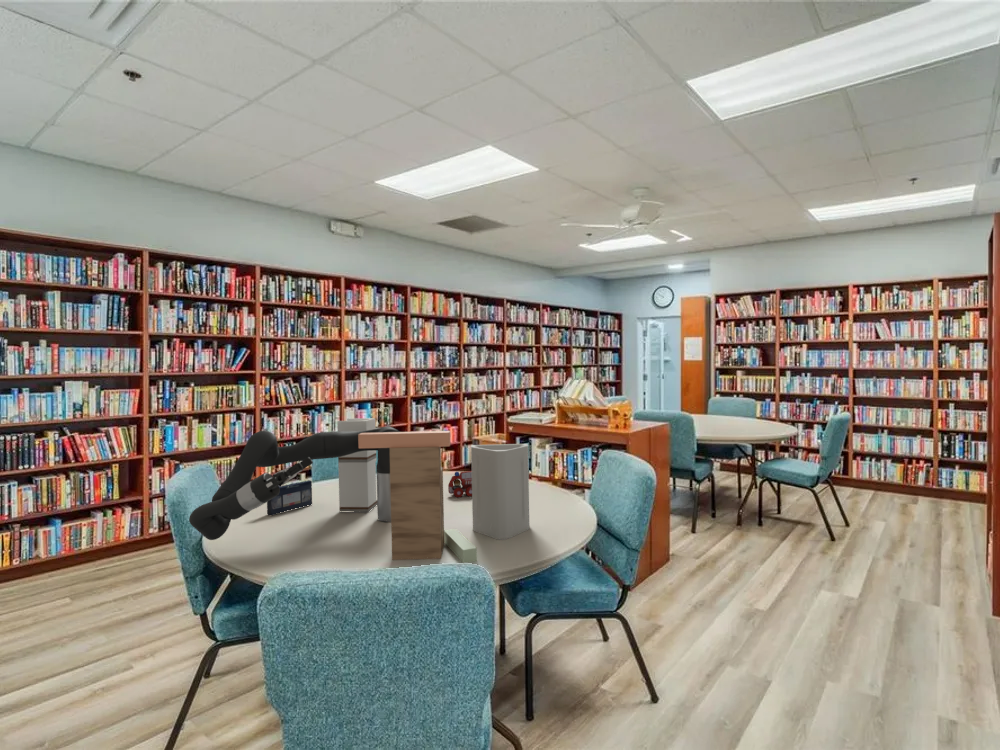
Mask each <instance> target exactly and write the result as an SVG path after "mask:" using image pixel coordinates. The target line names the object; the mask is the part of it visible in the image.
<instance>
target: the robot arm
mask: <svg viewBox="0 0 1000 750" xmlns="http://www.w3.org/2000/svg"><path fill="white" fill-rule="evenodd" d="M378 432H400V431H399V430H398V429H396V428H394V427H393V426H392V427H391V426H383V427H379V428H376V429H372V430H366V431H338V430H337V431H325V432H317V433H314V434H312V435H310V436H308V437H306V438H304V439H302V440H301V441H299V442H297V443H294V444H291V445H284V446H278V439H277V437H276V435H275V434H274V433H273V432H271V431H268V430H260V431H256V432H255V433H253V434H252V435H250V437H249V438H248V440H247V442H246V444H245V446H244V448H243V450H242V452H241V454H240V455H239V456H238V457H239V458H238V460H237V461H236V463H235V464H234V466H233V468H232V470H231V471H230V472H229V474H228V475H227V477H226V479H224V481H223V482H222V483H221V485H220V486H219V488H218V489H217V491H215V493H214V494H213V496H212V498H211V501H210V502H206V503H204V504H201V505H199V506H197V507H196V508H195V509H193V510H192V512H191V513H190V515H189V518H188V522H189V524H190V525H191V526H192V527H193V529H195V530H196V531H197V532H198V533H199V534H201V535H202V536H203V537H204V538H206V539H207V540H210V541H215V540H217V539H220V538H221V537H222V536H224V534H225V533H226V531H227V530H228V529H229V527H230V524H231V520H234V521H235V520H238V519H239V518H242V517H243V516H244V515H247V514H248V513H250V512H251V511H254V510H256V509H257V508H259V507H261V506H263V505H264V504H267V502H268V501H269V500H271V499H273V498H274V497H276V496H277V495H279V493H280V488H279V487H280V486H285V485H286V484H287V483H289V481H290V480H292V479H293V478H295V477H297V475H298V473H302V472H303V470H304V469H306V468H307V467H309V466H312V465H313V464H314V463H313V460H322V459H323V460H324V459H334V458H338V457H341V456H345V455H349V454H352V453H356V452H360V451H372V450H376V452H377V460H376V462H377V463H376V500H377V506H376V508H377V521H380V522H391V490H390V448H359V444H358V434H360V433H378ZM296 462H297V463H296ZM290 463H295V464H294V465H289V466H288V467H286V468H284V469H282V470H279V471H278V472H275V473H273V474H270V473H267V472H264V473H262V474H260V475H259V476H257V477H256V478H254V479H252V478H253V475H254V473H255V470H256V468H269V467H275V466H279V465H286V464H290Z"/></svg>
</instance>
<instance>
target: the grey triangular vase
mask: <svg viewBox="0 0 1000 750" xmlns="http://www.w3.org/2000/svg"><path fill="white" fill-rule="evenodd" d="M470 449H471V452H470V454H471V456H470V457H471V461H470V462H471V471H472V496H471V497H472V498H471V503H472V505H471V506H472V507H471V508H472V510H471V511H472V531H474V532H476V533H479V534H482V535H485V536H487V537H489V538H493V539H496V540H509V539H510V538H512V537H515V536H518V535H519V534H521V533H524V532H526V531H528V530H530V491H529V490H530V488H529V487H530V484H529V483H530V482H529V481H530V480H529V478H530V476H529V445H528V443H507V444H503V443H502V444H500V443H499V444H498V443H497V444H472V445H471V446H470Z"/></svg>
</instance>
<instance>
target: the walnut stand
mask: <svg viewBox="0 0 1000 750" xmlns="http://www.w3.org/2000/svg"><path fill="white" fill-rule="evenodd" d="M441 449H442V448H441V447H402V448H390V490H391V521H390V523H391V524H390V526H391V528H390V531H391V532H390V533H391V560H393V561H394V560H395V561H399V560H402V561H403V560H404V561H405V560H431V559H432V560H435V559H437V560H438V559H442V556H443V552H444V548H445V542H444V530H445V518H444V516H445V512H444V510H445V509H444V469H443V468H444V467H442V460H441V459H442V458H441V457H442V455H441V454H442V453H441Z"/></svg>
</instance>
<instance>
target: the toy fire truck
mask: <svg viewBox="0 0 1000 750" xmlns="http://www.w3.org/2000/svg"><path fill="white" fill-rule="evenodd" d="M447 486H448V489H447V491H448V493H449V494H450V495H452V494H453V495H454V497H456V498H462V496H464V493H465V495H467V497H469V496H471V497H472V470H467V471H461V472H460V473H459V471H455V472H454V475H453V476H452V475H451V478H450V480H449V483H448V485H447Z"/></svg>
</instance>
